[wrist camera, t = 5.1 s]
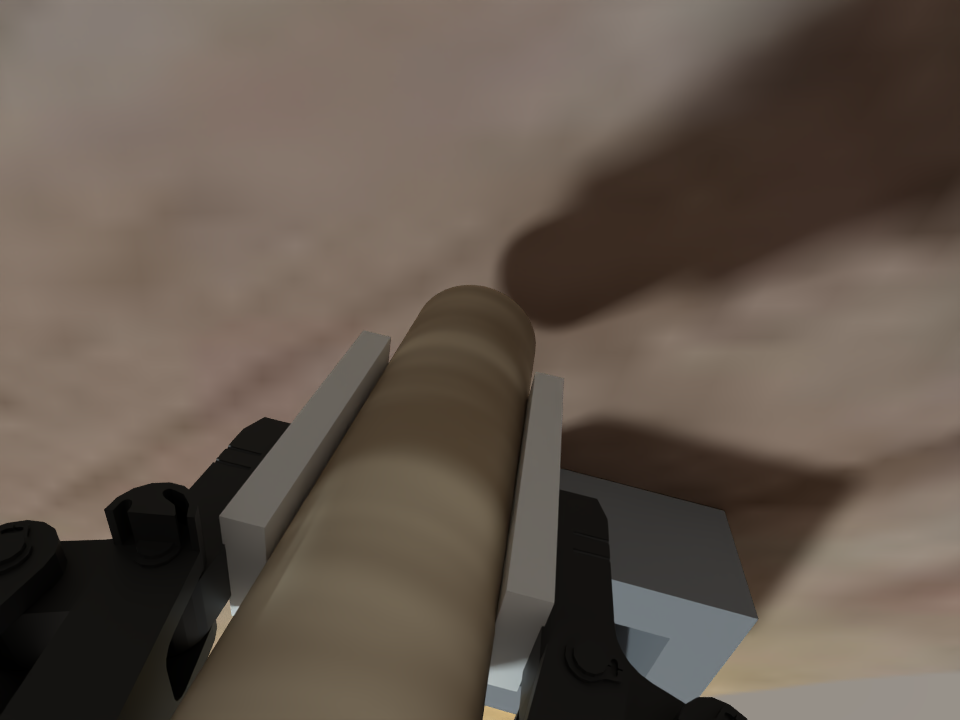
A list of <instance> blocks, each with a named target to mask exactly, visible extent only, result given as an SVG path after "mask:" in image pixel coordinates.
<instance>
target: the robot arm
mask: <svg viewBox="0 0 960 720" xmlns="http://www.w3.org/2000/svg"><path fill="white" fill-rule="evenodd" d="M390 342H391V337H389V336H385V335H381V334H377V333H372V332H368V331H363V332H362V333H361V334H360V336H359V337H358V338H357V340H356V341H355V342H354V343H353V345H352V346H351V347H350V349H349V350H348V351H347V352H346V354H345V355H344V356H343V358H342V359H341V360H340V361H339V363H338V364H337V365H336V366H335V368H334V369H333V370H332V372H331V373H330V374H329V375H328V377H327V378H326V379H325V381H324V382H323V383H322V384H321V386H320V387H319V388H318V390H317V391H316V392H315V393H314V395H313V396H312V397H311V399H310V400H309V401H308V402H307V404H306V405H305V406H304V408H303V409H302V410H301V411H300V413H299V414H298V415H297V417H296V418H295V419H294V420H293V422H292V423H291V424H290V423H286V422H282V421H278V420H274V419H270V418H266V417H264V418H262V419H260V420H259V421H257V422H255V423H253V424H251V425H250V426H248V427H246V428H244V429H243V430H242V431H241V432H240V433H239V434H238V435H237V437H236V438H235V439H234V440H233V441H232V442H231V443H230V444H229V446H228V449H225V450H224V451H223V452H222V453H221V454H220V456H219V457H218V458H217V459H216V462H215V463H214V462H213V463H212V464H211V466H210V467H209V468H208V469H207V470H206V471H205V472H204V473H203V475H202V476H201V477H200V478H199V479H198V480H197V481H196V482H195V483H194V485H193V486H192V487H191V488H190V489H187V488H186V487H185V486H182V485H178V484H174V483H170V482H168V483H151V484H147V485H144V486H140V487H137V488H133V489H131V490H130V491H128V492H126V493H124V494H122V495H120V496H119V497H117V498H116V499H115V500H114V501H113V502H112V503H111V504H110V505H109V506H107V507H106V508H105V509H104V511H105V514H106V518H107V521H108V524H109V528H110V531H111V535H112V538H113V539H107V540H81V541H60V540H59V538H58V535H57V532H56V530H55V528H53V527H51V526H50V525H48V524H46V523H45V522H39V521H31V520H24V521H18V522H11V523H6V524H3V525H0V720H170V719H171V717H172V715H173V714H174V712H175V711H176V709H177V707H178V706H179V704H180V702H181V701H182V699H183V698H184V696H185V694H186V693H187V691H188V689H189V688H190V686H191V685H192V683H193V681H194V680H195V678H196V676H197V675H198V673H199V671H200V670H201V668H202V667H203V665H204V663H205V662H206V660H207V658H208V656H209V653H210V651H211V648H212V646H213V643H214V641H215V636H216V630H217V623H216V619H217V617H218V615H219V614H220V612H221V611H222V609H223V608H224V606H225V605H226V603H227V601H228V600H229V598H230V606H231V614H232V615H233V616H234V614H235V613H236V611H237V610H238V608H239V606H240V605H241V603H242V601H243V600H244V598H245V597H246V595H247V593H248V592H249V590H250V588H251V587H252V585H253V584H254V582H255V580H256V579H257V577H258V575H259V574H260V572H261V571H262V569H263V567H264V566H265V564H266V562H267V561H268V559H269V558H270V556H271V554H272V553H273V551H274V549H275V548H276V546H277V544H278V543H279V541H280V540H281V538H282V536H283V535H284V533H285V531H286V530H287V528H288V527H289V525H290V523H291V522H292V520H293V518H294V517H295V515H296V514H297V512H298V510H299V509H300V507H301V505H302V504H303V502H304V501H305V499H306V497H307V496H308V494H309V492H310V491H311V489H312V487H313V486H314V484H315V483H316V481H317V479H318V478H319V476H320V474H321V473H322V471H323V470H324V468H325V466H326V465H327V463H328V461H329V460H330V458H331V457H332V455H333V453H334V452H335V450H336V448H337V447H338V445H339V444H340V442H341V440H342V439H343V437H344V435H345V434H346V432H347V430H348V429H349V427H350V426H351V424H352V422H353V421H354V419H355V417H356V416H357V414H358V413H359V411H360V409H361V408H362V406H363V404H364V403H365V401H366V400H367V398H368V396H369V395H370V393H371V391H372V390H373V388H374V387H375V385H376V383H377V382H378V380H379V378H380V377H381V375H382V374H383V372H384V370H385V369H386V367H387V365H388V362H389V352H390ZM563 389H564V378H560V377H556V376H552V375H548V374H544V373H540V372H535V376H534V379H533V383H532V387H531V390H530V394H529V397H528V401H527V408H526V415H525V422H524V429H523V436H522V442H521V449H520V456H519V463H518V470H517V477H516V484H515V491H514V498H513V505H512V511H511V518H510V525H509V532H508V539H507V546H506V553H505V560H504V567H503V574H502V580H501V587H500V594H499V601H498V608H497V615H496V622H495V635H494V642H493V649H492V656H491V663H490V670H489V677H488V684H489V685H493V686H497V687H500V688H504V689H508V690H511V691H515V692H517V690H518V688H519V686H520V683H521V681H522V684H521V696H520V707H519V710H518V712H517V714H516V716H515V719H514V720H747V718H746V717H744V716H743V715H742V714H741V713H739V712H738V711H737V710H736V709H734V708H733V707H732V706H731V705H729V704H727V703H725V702H722V701H720V700H717V699H715V698H713V697H696V698H695V699H693V700H691V701H690V702H688V703H684V702H682V701H681V700H679V699H677V698H676V697H674V696H673V695H671V694H669V693H668V692H666V691H664V690H663V689H661V688H660V687H658V686H656V685H655V684H653V683H652V682H650V681H649V680H648V679H646V678H645V677H644V676H642V675H641V674H640V673H639V672H638V671H637V670H636V669H635V668H634V667H633V666H632V665H631V664H630V662H629V661H628V659H627V658H626V656H625V655H624V653H623V652H622V650H621V647H620V645H619V642H618V640H617V636H616V631H615V622H614V607H613V592H612V576H611V562H610V545H609V530H608V519H607V517H606V515H605V513H604V511H603V509H602V507H601V505H600V503H599V501H598V499H596V498H592V497H588V496H584V495H580V494H576V493H572V492H568V491H564V490H560V489H559V483H560V459H561V436H562V412H563Z"/></svg>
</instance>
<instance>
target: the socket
mask: <svg viewBox="0 0 960 720" xmlns="http://www.w3.org/2000/svg"><path fill="white" fill-rule="evenodd" d="M559 489H560V490H564V491H568V492H572V493H576V494H580V495H584V496H588V497H592V498H596V499H598V501H599V503H600V505H601V507H602V509H603V511H604V513H605V515H606V517H607V519H608V530H609V545H610V562H611V576H612V592H613V607H614V622H615V631H616V636H617V640H618V642H619V645H620V647H621V650H622V652H623V653H624V655H625V656H626V658H627V659H628V661H629V662H630V664H631V665H632V666H633V667H634V668H635V669H636V670H637V671H638V672H639V673H640V674H641V675H642V676H644V677H645V678H646V679H648V680H649V681H650V682H652V683H653V684H655V685H656V686H658V687H660V688H661V689H663V690H664V691H666V692H668V693H669V694H671V695H673V696H674V697H676V698H677V699H679V700H681V701H682V702H684V703H688V702H690V701H691V700H693V699H695V698H696V697H699V696H700V695H701V694H702V692H703V691H704V690H705V689H706V687H707V686H708V685H709V683H710V682H711V681H712V679H713V678H714V677H715V675H716V674H717V673H718V671H719V670H720V669H721V668H722V666H723V665H724V664H725V662H726V661H727V660H728V658H729V657H730V656H731V654H732V653H733V652H734V651H735V649H736V648H737V647H738V645H739V644H740V643H741V641H742V640H743V639H744V637H745V636H746V635H747V633H748V632H749V631H750V630H751V628H752V627H753V626H754V624H755V623H756V622H757V620H758V616H757V613H756V610H755V607H754V604H753V600H752V597H751V594H750V591H749V588H748V585H747V581H746V578H745V575H744V572H743V569H742V566H741V562H740V559H739V556H738V553H737V550H736V546H735V543H734V540H733V537H732V534H731V531H730V527H729V524H728V521H727V518H726V515H725V512H724V511H723V510H719V509H715V508H711V507H707V506H703V505H700V504H696V503H692V502H688V501H684V500H680V499H676V498H673V497H669V496H665V495H661V494H657V493H653V492H650V491H646V490H642V489H638V488H634V487H630V486H626V485H623V484H619V483H615V482H611V481H607V480H603V479H599V478H596V477H592V476H588V475H584V474H580V473H576V472H573V471H569V470H565V469H561V468H560V483H559ZM521 684H522V681H521V683H520V686H519V688H518V690H517V692H515V691H511V690H508V689H504V688H500V687H497V686H493V685H489V684H487V691H486V698H485V706H489V707H492V708H496V709H499V710H503V711H506V712H510V713H513V714H517V712H518V710H519V707H520V696H521Z"/></svg>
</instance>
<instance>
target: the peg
mask: <svg viewBox="0 0 960 720" xmlns="http://www.w3.org/2000/svg"><path fill="white" fill-rule="evenodd" d="M535 346H536V341H535V334H534V330H533V327H532V325H531V322H530V320H529V318H528V317H527V315H526V313H525V312H524V311H523V310H522V308H521V307H520V306H519V305H518V304H517V303H516V302H515V301H513V300H512V299H511V298H509V297H508V296H506V295H504V294H503V293H501V292H499V291H496V290H494V289H491V288H488V287H483V286H478V285H462V286H456V287H452V288H449V289H446V290H444V291H442V292H440V293H438V294H437V295H435V296H434V297H433V298H431V299H430V300H429V301H428V302H427V303H426V305H425V306H424V307H423V308H422V310H421V312H420V313H419V315H418V317H417V318H416V320H415V321H414V323H413V325H412V326H411V328H410V330H409V331H408V333H407V334H406V336H405V338H404V339H403V341H402V343H401V344H400V346H399V347H398V349H397V351H396V352H395V354H394V356H393V357H392V359H391V360H390V362H389V364H388V365H387V367H386V369H385V370H384V372H383V374H382V375H381V377H380V378H379V380H378V382H377V383H376V385H375V387H374V388H373V390H372V391H371V393H370V395H369V396H368V398H367V400H366V401H365V403H364V404H363V406H362V408H361V409H360V411H359V413H358V414H357V416H356V417H355V419H354V421H353V422H352V424H351V426H350V427H349V429H348V430H347V432H346V434H345V435H344V437H343V439H342V440H341V442H340V444H339V445H338V447H337V448H336V450H335V452H334V453H333V455H332V457H331V458H330V460H329V461H328V463H327V465H326V466H325V468H324V470H323V471H322V473H321V474H320V476H319V478H318V479H317V481H316V483H315V484H314V486H313V487H312V489H311V491H310V492H309V494H308V496H307V497H306V499H305V501H304V502H303V504H302V505H301V507H300V509H299V510H298V512H297V514H296V515H295V517H294V518H293V520H292V522H291V523H290V525H289V527H288V528H287V530H286V531H285V533H284V535H283V536H282V538H281V540H280V541H279V543H278V544H277V546H276V548H275V549H274V551H273V553H272V554H271V556H270V558H269V559H268V561H267V562H266V564H265V566H264V567H263V569H262V571H261V572H260V574H259V575H258V577H257V579H256V580H255V582H254V584H253V585H252V587H251V588H250V590H249V592H248V593H247V595H246V597H245V598H244V600H243V601H242V603H241V605H240V606H239V608H238V610H237V611H236V613H235V614H234V616H233V618H232V619H231V621H230V623H229V624H228V626H227V628H226V629H225V631H224V632H223V634H222V636H221V637H220V639H219V641H218V642H217V644H216V645H215V647H214V649H213V650H212V652H211V654H210V655H209V657H208V658H207V660H206V662H205V663H204V665H203V667H202V668H201V670H200V671H199V673H198V675H197V676H196V678H195V680H194V681H193V683H192V685H191V686H190V688H189V689H188V691H187V693H186V694H185V696H184V698H183V699H182V701H181V702H180V704H179V706H178V707H177V709H176V711H175V712H174V714H173V715H172V717H171V719H170V720H482V719H483V712H484V705H485V698H486V691H487V684H488V677H489V670H490V663H491V656H492V649H493V642H494V635H495V622H496V615H497V608H498V601H499V594H500V587H501V580H502V574H503V567H504V560H505V553H506V546H507V539H508V532H509V525H510V518H511V511H512V505H513V498H514V491H515V484H516V477H517V470H518V463H519V456H520V449H521V442H522V436H523V429H524V422H525V415H526V408H527V401H528V397H529V391H530V384H531V377H532V370H533V363H534V356H535Z"/></svg>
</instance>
